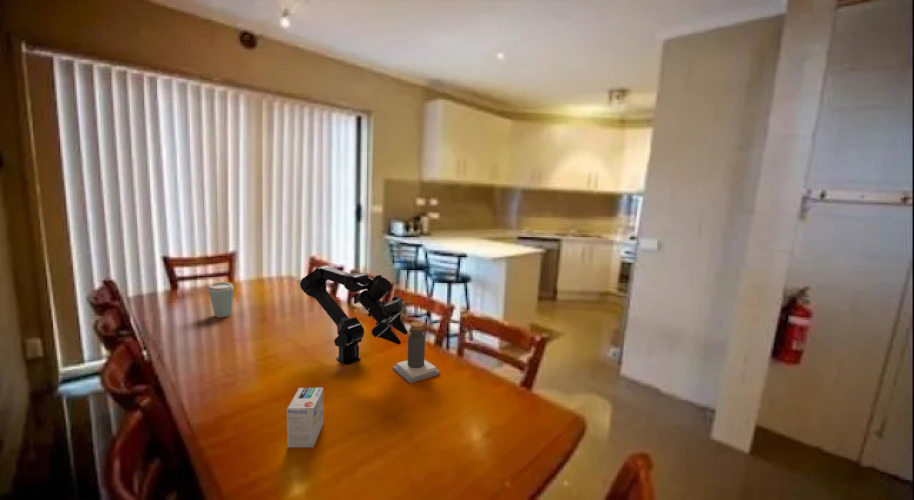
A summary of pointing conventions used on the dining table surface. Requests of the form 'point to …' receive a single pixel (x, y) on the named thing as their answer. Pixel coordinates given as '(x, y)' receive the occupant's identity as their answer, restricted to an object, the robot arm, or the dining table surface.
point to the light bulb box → (305, 417)
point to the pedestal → (415, 371)
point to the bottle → (416, 345)
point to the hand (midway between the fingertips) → (403, 338)
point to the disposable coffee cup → (221, 298)
